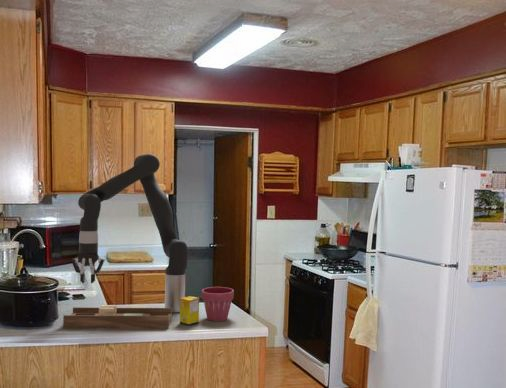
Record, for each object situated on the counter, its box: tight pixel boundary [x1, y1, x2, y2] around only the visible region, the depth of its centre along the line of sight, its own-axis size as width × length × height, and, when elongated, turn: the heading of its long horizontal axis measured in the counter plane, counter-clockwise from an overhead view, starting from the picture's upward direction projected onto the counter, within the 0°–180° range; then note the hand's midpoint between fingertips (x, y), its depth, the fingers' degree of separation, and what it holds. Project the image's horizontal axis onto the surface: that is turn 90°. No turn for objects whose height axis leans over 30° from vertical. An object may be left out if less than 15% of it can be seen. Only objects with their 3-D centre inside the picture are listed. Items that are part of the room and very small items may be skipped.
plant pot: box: [201, 286, 235, 322], centre depth 218 cm, size 14×14×13 cm
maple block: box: [98, 304, 118, 315], centre depth 205 cm, size 6×6×4 cm
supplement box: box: [179, 295, 200, 327], centre depth 209 cm, size 6×6×11 cm
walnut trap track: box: [62, 306, 173, 330], centre depth 205 cm, size 14×42×5 cm, turn 94°
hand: (87, 282), depth 204 cm, fingers open, 3 cm apart
